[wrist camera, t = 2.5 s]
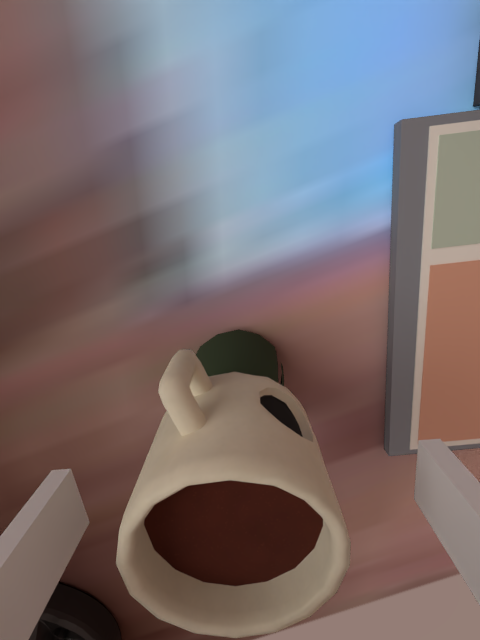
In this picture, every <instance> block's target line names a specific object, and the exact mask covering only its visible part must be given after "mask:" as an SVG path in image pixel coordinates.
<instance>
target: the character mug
mask: <svg viewBox="0 0 480 640" xmlns="http://www.w3.org/2000/svg"><path fill="white" fill-rule="evenodd" d="M281 369H282V376H281V384H279V383H278V363H277V354H276V350H275V347H274V346H273V345H272V344H270V343H269V342H268V341H267V340H265V339H264V338H263V337H261V336H260V335H258V334H254V333H250V332H246V331H242V330H235V331H230V332H226V333H222V334H218V335H216V336H215V337H213V338H212V339H210V340H209V341H207V342H206V343H205V344H203V345H202V346H200V348H199V350H198V352H197V354H196V355H195V354H194V352H193V351H192V350H187V349H182V350H179V351H178V352H177V353H176V354H175V355H174V356H173V357H172V359H171V361H170V363H169V365H168V367H167V368H166V370H165V372H164V374H163V376H162V378H161V380H160V383H159V390H158V392H159V395H160V397H161V400H162V403H163V405H164V407H165V408H166V410H167V412H166V413H165V415H164V416H163V418H162V421H161V423H160V426H159V428H158V431H157V433H156V435H155V438H154V440H153V443H152V445H151V448H150V450H149V453H148V455H147V458H146V460H145V463H144V465H143V468H142V470H141V473H140V475H139V478H138V480H137V482H136V485H135V487H134V490H133V492H132V495H131V497H130V500H129V502H128V505H127V507H126V510H125V512H124V515H123V519H122V522H121V526H120V529H119V537H118V547H117V557H116V565H117V568H118V570H119V572H120V574H121V576H122V579H123V581H124V583H125V585H126V587H127V590H128V592H129V594H130V595H131V596H132V597H133V598H134V599H135V600H137V601H138V602H139V603H140V604H141V605H142V606H144V607H145V608H146V609H147V610H148V611H149V612H151V613H152V614H153V615H154V616H155V617H156V618H158V619H160V620H162V621H165V622H167V623H170V624H172V625H175V626H177V627H180V628H182V629H185V630H187V631H190V632H192V633H195V634H204V635H212V636H221V637H229V638H241V637H248V636H255V635H262V634H269V633H276V632H278V631H280V630H282V629H285V628H287V627H289V626H291V625H293V624H295V623H298V622H300V621H302V620H304V619H306V618H308V617H311V616H312V615H313V614H314V613H315V612H316V611H317V610H318V609H319V608H320V607H321V606H323V605H324V604H325V603H326V602H327V601H328V600H329V599H330V598H331V597H332V596H333V595H335V594H336V593H337V591H338V589H339V587H340V584H341V582H342V580H343V578H344V576H345V574H346V572H347V570H348V568H349V566H350V545H351V542H350V539H349V535H348V531H347V527H346V524H345V521H344V518H343V515H342V512H341V509H340V506H339V504H338V501H337V498H336V495H335V492H334V490H333V487H332V484H331V481H330V478H329V476H328V473H327V470H326V467H325V464H324V462H323V458H322V455H321V451H320V448H319V445H318V442H317V439H316V437H315V435H314V433H313V430H312V427H311V425H310V422H309V419H308V416H307V414H306V412H305V410H304V408H303V407H302V405H301V403H300V402H299V400H298V399H297V398H296V397H295V396H294V395H293V394H292V393H291V392H290V390H289V389H288V388H286V387H284V374H283V366H282V364H281Z"/></svg>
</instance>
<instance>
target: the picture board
mask: <svg viewBox="0 0 480 640" xmlns="http://www.w3.org/2000/svg"><path fill="white" fill-rule="evenodd" d="M429 439H441V440H442V441H443V443H444V444H445V445H446V446H447V447H448V448H449V449H450V450H462V449H473V448H480V110H474V111H466V112H458V113H450V114H443V115H435V116H427V117H419V118H411V119H403V120H400V121H399V122H397V123H396V124H394V152H393V183H392V214H391V246H390V277H389V308H388V339H387V371H386V402H385V433H384V449H385V451H386V453H387V454H388V456H397V455H408V454H417V452H418V440H429Z"/></svg>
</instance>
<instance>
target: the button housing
mask: <svg viewBox="0 0 480 640" xmlns="http://www.w3.org/2000/svg"><path fill="white" fill-rule="evenodd" d="M473 106H480V42H479V52H478V62H477V73H476V83H475V93H474V104H473Z"/></svg>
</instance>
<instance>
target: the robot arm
mask: <svg viewBox="0 0 480 640" xmlns="http://www.w3.org/2000/svg"><path fill="white" fill-rule="evenodd" d="M414 500H415V501H416V503H417V504H418V506H419V508H420V509H421V511H422V513H423V514H424V516H425V517H426V519H427V521H428V522H429V524H430V526H431V527H432V529H433V530H434V532H435V534H436V535H437V537H438V539H439V540H440V542H441V543H442V545H443V547H444V548H445V550H446V552H447V553H448V555H449V556H450V558H451V560H452V561H453V563H454V564H455V566H456V568H457V569H458V571H459V573H460V574H461V576H462V577H463V579H464V581H465V582H466V584H467V586H468V587H469V589H470V590H471V592H472V594H473V595H474V597H475V599H476V600H477V602H478V603H479V605H480V482H479V481H478V480H477V479H476V478H475V477H474V476H473V474H472V473H471V472H470V471H469V470H468V469H467V468H466V467H465V466H464V465H463V463H462V462H461V461H460V460H459V459H458V458H457V457H456V456H455V455H454V454H453V452H452V451H451V450H450V449H449V448H448V447H447V446H446V445H445V444H444V443H443V441H442V440H441V439H429V440H418V452H417V465H416V478H415V491H414ZM88 524H89V519H88V516H87V514H86V511H85V508H84V505H83V502H82V499H81V496H80V493H79V491H78V488H77V485H76V482H75V479H74V476H73V473H72V470H71V469H62V470H52V471H51V472H50V473H49V475H48V476H47V477H46V478H45V480H44V481H43V482H42V483H41V485H40V486H39V487H38V489H37V490H36V491H35V492H34V494H33V495H32V496H31V498H30V499H29V500H28V501H27V503H26V504H25V505H24V507H23V508H22V509H21V510H20V512H19V513H18V514H17V515H16V517H15V518H14V519H13V521H12V522H11V523H10V524H9V526H8V527H7V528H6V530H5V531H4V532H3V533H2V535H1V536H0V640H121V634H120V630H119V627H118V625H117V623H116V621H115V619H114V618H113V616H112V615H111V614H110V613H109V612H108V610H107V609H106V608H105V607H103V606H102V605H101V604H100V603H99V602H97V601H96V600H95V599H93V598H91V597H90V596H88V595H86V594H84V593H82V592H80V591H78V590H76V589H74V588H71V587H68V586H65V585H62V584H58V582H59V580H60V578H61V576H62V574H63V572H64V570H65V568H66V567H67V565H68V563H69V561H70V559H71V557H72V555H73V553H74V551H75V549H76V547H77V545H78V543H79V542H80V540H81V538H82V536H83V534H84V532H85V530H86V528H87V526H88Z"/></svg>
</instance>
